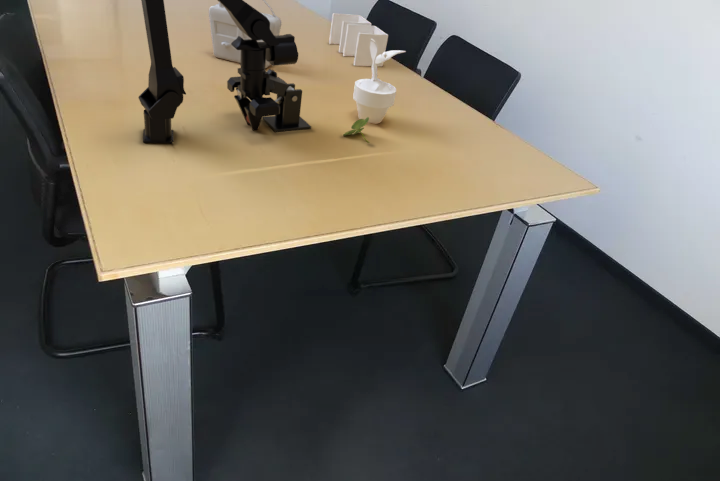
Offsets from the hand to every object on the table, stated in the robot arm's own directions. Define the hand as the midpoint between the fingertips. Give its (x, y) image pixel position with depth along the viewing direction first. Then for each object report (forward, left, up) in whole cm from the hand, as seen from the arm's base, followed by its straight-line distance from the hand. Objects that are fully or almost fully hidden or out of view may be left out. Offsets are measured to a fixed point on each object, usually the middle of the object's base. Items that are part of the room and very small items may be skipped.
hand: (252, 128), depth 140 cm
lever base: (+3, -9, 0) cm, 9 cm away
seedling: (-5, -26, 0) cm, 26 cm away
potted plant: (+9, -34, 0) cm, 35 cm away
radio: (+52, -3, 0) cm, 52 cm away
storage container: (+69, -46, 0) cm, 83 cm away
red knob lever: (+1, -5, +4) cm, 7 cm away
